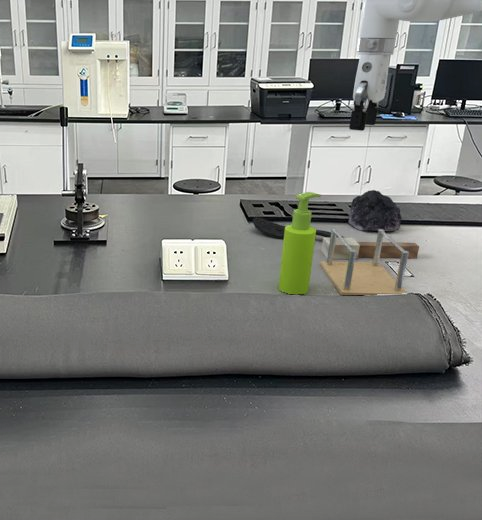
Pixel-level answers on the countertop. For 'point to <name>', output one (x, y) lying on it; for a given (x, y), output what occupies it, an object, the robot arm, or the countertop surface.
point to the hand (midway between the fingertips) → (362, 127)
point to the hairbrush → (279, 228)
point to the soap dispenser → (298, 249)
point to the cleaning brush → (368, 249)
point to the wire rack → (364, 270)
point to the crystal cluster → (374, 212)
